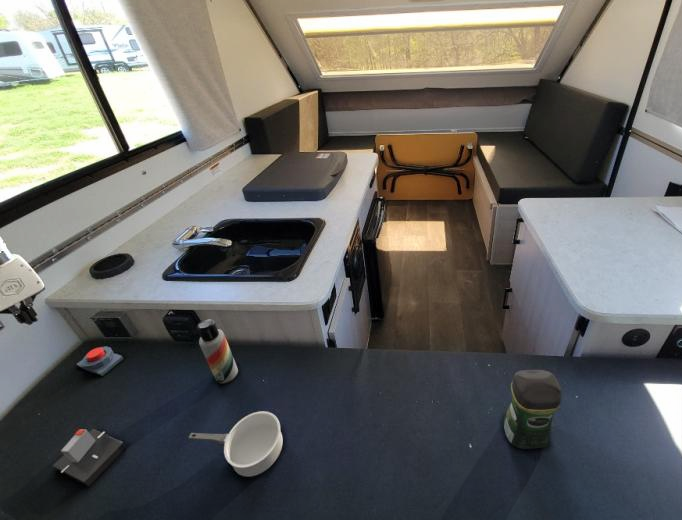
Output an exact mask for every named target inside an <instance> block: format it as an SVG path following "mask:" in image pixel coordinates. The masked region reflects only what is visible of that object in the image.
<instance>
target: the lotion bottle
mask: <svg viewBox="0 0 682 520" xmlns="http://www.w3.org/2000/svg"><path fill="white" fill-rule="evenodd" d="M196 328H197V331H198V333H199V336H200V337H199V341H198V344H199V346H200V349H201V351H202V353H203V356H204V357H205V360H206V363H207V364H208V366H209V369H210V371H211V373H212V375H213V378H214V379H215V382H217V383H219V384H226V383H229V382H232V380H234V378H236V376H237V375H238V373H239V369H238V366H237V363H236V360H235V358H234V356H233V353H232V350H231V348H230V345H229V342H228V341H227V337H226V335H225V333H224V331H223V330H222V329H220V328H219V329H218V326H217V324H216V322H215V320H214V319H206V320H203V321H201V322H199V323H198V324H197V327H196Z"/></svg>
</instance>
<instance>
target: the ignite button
mask: <svg viewBox="0 0 682 520" xmlns="http://www.w3.org/2000/svg"><path fill="white" fill-rule="evenodd" d="M104 355H105V352H104V351H103V349H102V348H100V347H95V348H93V349H91V350H90V351H88V352H87V353H86V354H85V356H86V357H87V359H88V360H89V361H90V362H95V361H97V360H99V359H101V358H102V357H103V356H104Z"/></svg>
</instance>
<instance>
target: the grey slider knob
mask: <svg viewBox="0 0 682 520" xmlns="http://www.w3.org/2000/svg"><path fill="white" fill-rule="evenodd" d="M89 432H90V431H88V430H87V429H78V430H77V431H76V432H75V433H74V435H73V436H72V437H71V439H70V440H69V441H68V442H67V443H66V444H65V446H64V447H63V448H62V449H60V452H61V453H62V454H63V456H64V455H65V456H66V457H67V458H68V459H69V460H70V461H71V462H79V461H80V460H81V459H82V457H83V456H84V455H85V454H86V452H87V451H88V450H89V449H90V447H91V446H92V445H93V444H94V443H95V439H94V438H93V437H92V436H91V435H90V434H89Z"/></svg>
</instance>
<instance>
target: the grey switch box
mask: <svg viewBox="0 0 682 520" xmlns="http://www.w3.org/2000/svg"><path fill="white" fill-rule="evenodd" d="M88 432H89V434H90V435H91V436H92V437H93V438H94V439H95V443H94V444H93V445H92V446H91V447H90V449H89V450H88V451H87V452H86V454H85V455H84V456H83V457H82V459H81V460H80V461H79V462H71V461H70V460H69V459H68V458H67V457H66V456H65V455H64V454H63V455H62V456H61V457H60V458H59V459H58V460H56V462H55V463H54V464H53V465H52V467H53V468H54V469H55V470H57V471H58V472H60V473H61V474H63V475H65V476H68V477H69V478H71V479H73V480H75V481H76V482H79V483H81V484H82V485H84V486H86V487H89V486H91V485H92V484H93V482H95V480H96V479H98V477H99V476H100V475H101V474H102V473H103V472H104V471H105V470H106V469H107V468H108V467H110V465H111V464H112V463H113V462H114V460H116V459H117V458H118V457H119V456H120V455H121V453H123V451H124V450H125V449H126V448H127V445H126V444H125V443H124V442H123V441H121V440H119V439H116V438H114V437H112V436H110V435H108V434H105V433H106V431H102V432H101V431H99V430H98V429H94V428H92V429H91V430H90V431H88Z"/></svg>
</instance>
